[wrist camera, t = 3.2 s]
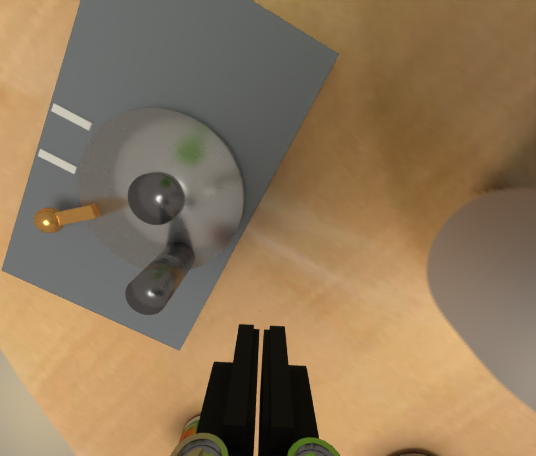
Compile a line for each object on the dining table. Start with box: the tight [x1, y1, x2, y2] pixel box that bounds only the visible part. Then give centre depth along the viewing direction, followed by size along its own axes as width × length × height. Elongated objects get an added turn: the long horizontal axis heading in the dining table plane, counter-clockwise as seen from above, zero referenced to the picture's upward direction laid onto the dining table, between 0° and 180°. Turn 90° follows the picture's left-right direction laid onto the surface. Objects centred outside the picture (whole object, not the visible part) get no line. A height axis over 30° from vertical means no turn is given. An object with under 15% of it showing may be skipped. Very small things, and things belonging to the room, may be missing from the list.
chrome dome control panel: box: [34, 108, 245, 315], centre depth 16 cm, size 10×13×6 cm
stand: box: [2, 0, 339, 351], centre depth 20 cm, size 23×14×2 cm, turn 152°
